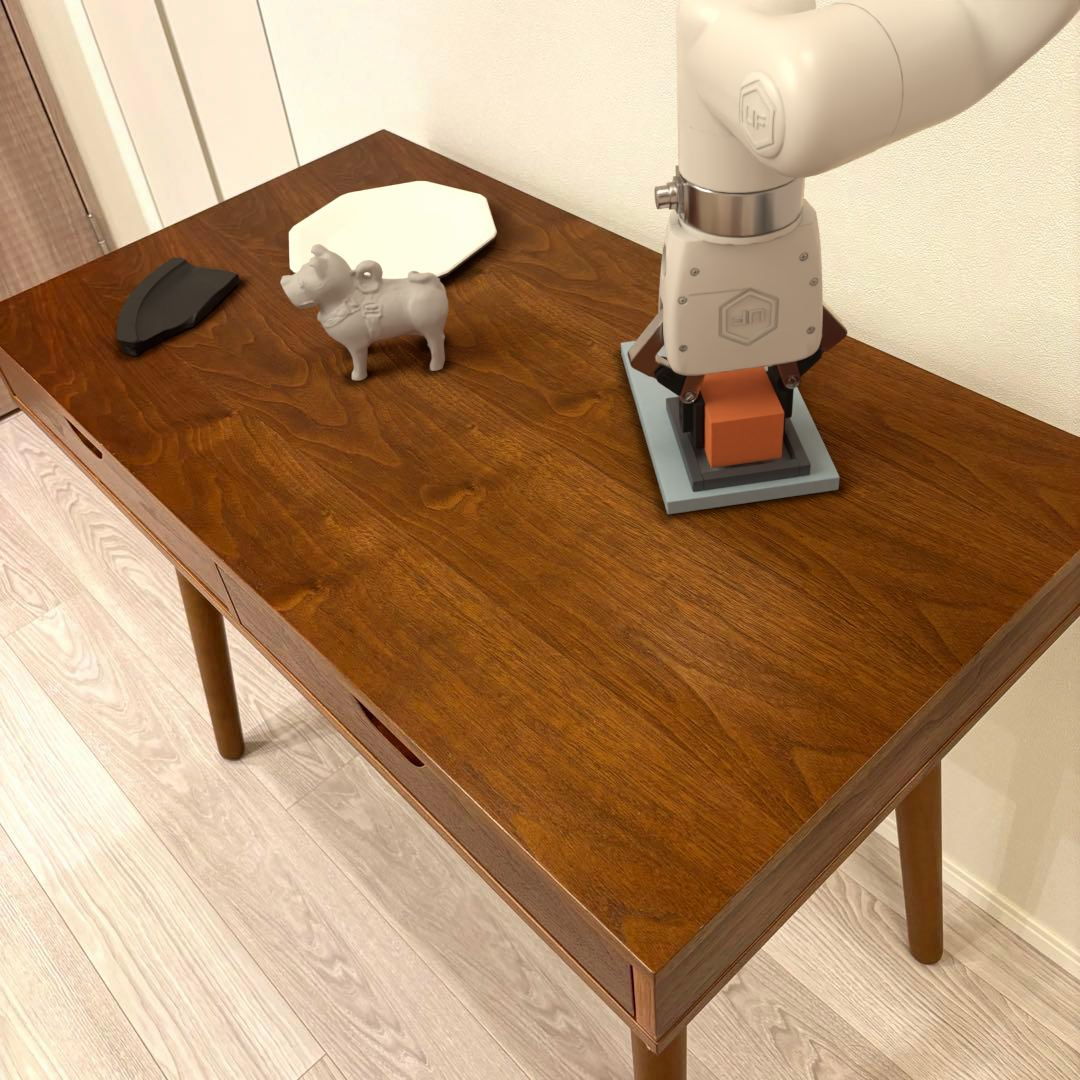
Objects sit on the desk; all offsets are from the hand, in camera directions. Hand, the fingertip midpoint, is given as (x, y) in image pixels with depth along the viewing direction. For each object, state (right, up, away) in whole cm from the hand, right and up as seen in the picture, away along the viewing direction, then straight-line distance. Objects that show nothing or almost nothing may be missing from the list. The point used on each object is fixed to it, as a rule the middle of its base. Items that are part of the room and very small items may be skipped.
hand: (734, 428), depth 82 cm
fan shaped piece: (-48, +13, +25) cm, 56 cm away
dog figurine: (-27, +7, +15) cm, 32 cm away
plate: (-28, +21, +30) cm, 46 cm away
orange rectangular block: (0, 0, 0) cm, 0 cm away
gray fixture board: (0, +1, +5) cm, 5 cm away
